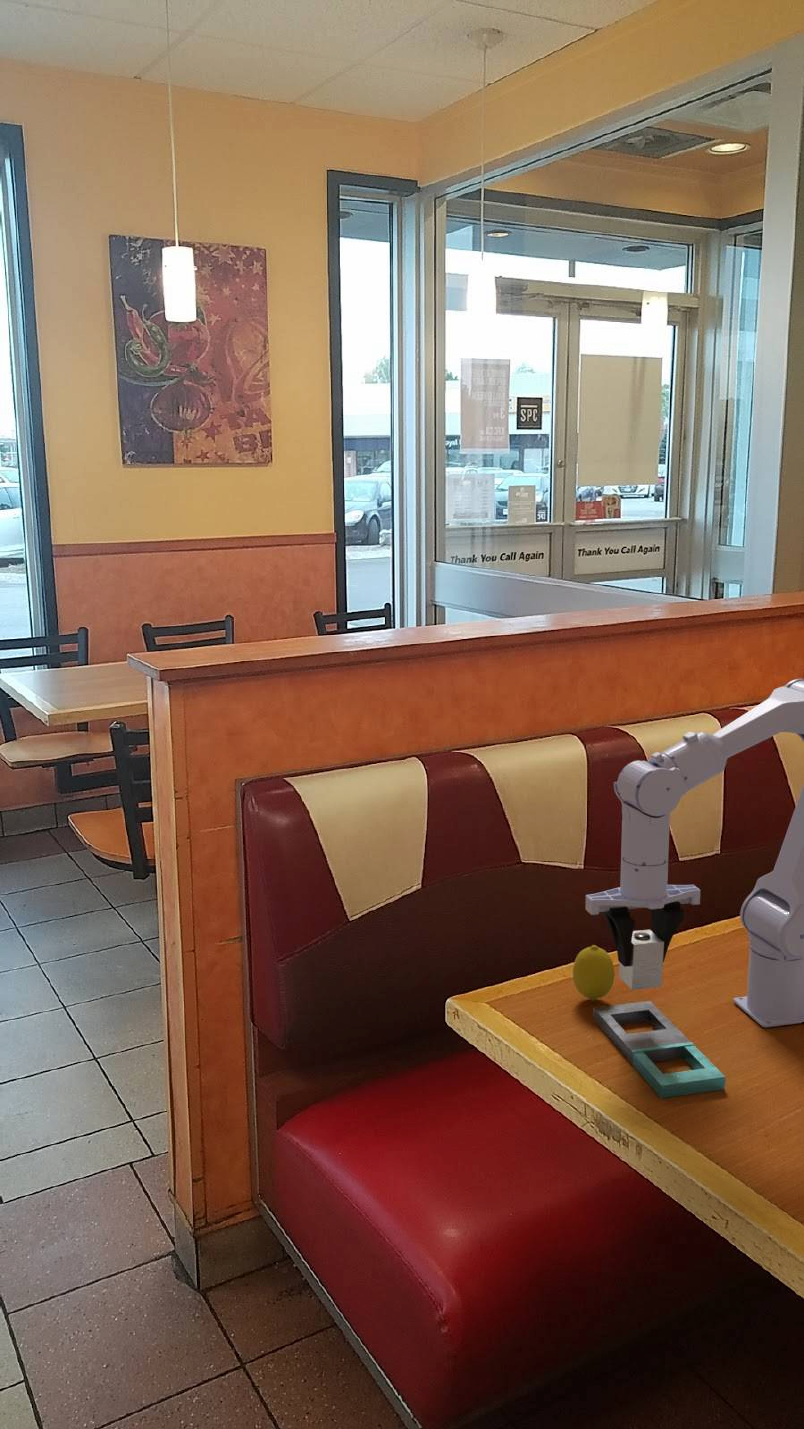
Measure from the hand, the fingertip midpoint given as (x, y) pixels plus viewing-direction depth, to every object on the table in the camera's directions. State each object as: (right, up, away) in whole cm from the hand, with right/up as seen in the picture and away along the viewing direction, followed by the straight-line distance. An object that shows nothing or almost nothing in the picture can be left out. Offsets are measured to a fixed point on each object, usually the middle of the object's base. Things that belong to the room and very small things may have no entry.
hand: (641, 961), depth 142 cm
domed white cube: (0, -3, +1) cm, 3 cm away
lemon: (-4, -8, +11) cm, 14 cm away
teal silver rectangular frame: (+1, -11, -3) cm, 11 cm away
